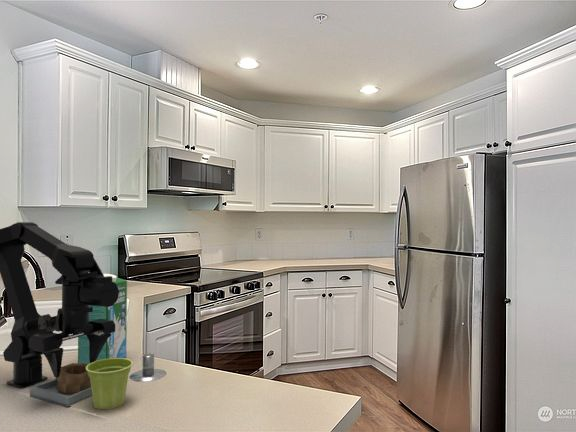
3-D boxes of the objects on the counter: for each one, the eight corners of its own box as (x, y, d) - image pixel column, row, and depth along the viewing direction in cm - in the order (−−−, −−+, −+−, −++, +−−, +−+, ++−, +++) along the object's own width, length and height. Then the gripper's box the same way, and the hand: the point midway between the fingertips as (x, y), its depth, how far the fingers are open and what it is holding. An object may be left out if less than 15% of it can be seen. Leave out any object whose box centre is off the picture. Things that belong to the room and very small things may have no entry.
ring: (71, 396, 93) (73, 379, 93) (44, 383, 97) (46, 366, 97) (97, 385, 99) (99, 369, 99) (72, 373, 103) (73, 357, 103)
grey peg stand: (121, 379, 105) (121, 357, 105) (148, 368, 113) (148, 348, 113) (148, 385, 101) (148, 363, 101) (173, 373, 109) (174, 352, 109)
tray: (30, 396, 95) (30, 387, 95) (80, 377, 106) (80, 369, 106) (68, 407, 89) (68, 398, 89) (117, 386, 101) (117, 377, 101)
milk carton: (107, 369, 112) (107, 276, 112) (77, 367, 114) (78, 275, 114) (126, 358, 121) (127, 272, 121) (98, 356, 122) (99, 271, 123)
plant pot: (118, 392, 97) (118, 354, 97) (141, 403, 91) (141, 363, 91) (77, 405, 90) (77, 365, 90) (98, 419, 84) (99, 375, 84)
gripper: (87, 294, 110) (86, 354, 110) (13, 307, 93) (13, 378, 93) (117, 298, 105) (116, 360, 105) (45, 312, 88) (45, 387, 88)
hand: (75, 370), depth 98 cm, fingers open, 9 cm apart
